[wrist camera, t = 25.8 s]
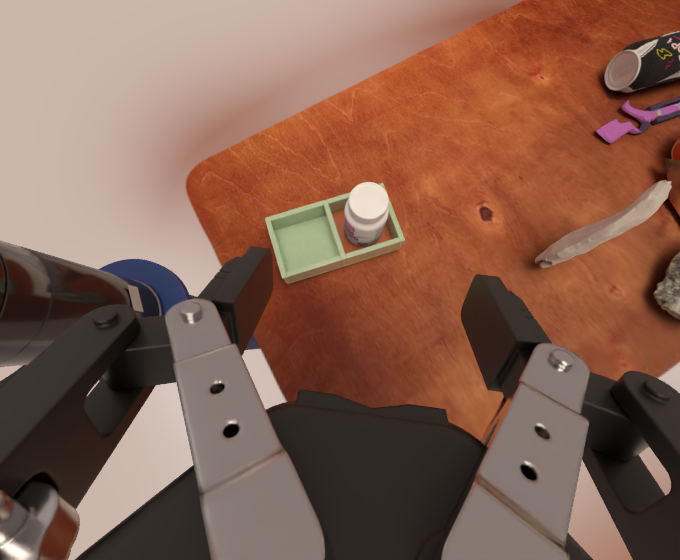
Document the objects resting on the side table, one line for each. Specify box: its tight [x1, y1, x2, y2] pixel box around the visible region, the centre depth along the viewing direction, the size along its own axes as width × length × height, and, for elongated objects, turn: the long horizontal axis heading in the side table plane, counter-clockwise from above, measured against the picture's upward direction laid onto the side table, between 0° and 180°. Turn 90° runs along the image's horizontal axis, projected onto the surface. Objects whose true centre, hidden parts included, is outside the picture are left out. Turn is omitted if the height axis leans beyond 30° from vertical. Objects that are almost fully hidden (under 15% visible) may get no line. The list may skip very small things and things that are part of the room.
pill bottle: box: [344, 182, 389, 248], centre depth 34 cm, size 5×5×8 cm
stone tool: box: [535, 180, 672, 268], centre depth 30 cm, size 9×3×15 cm, turn 127°
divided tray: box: [265, 183, 405, 284], centre depth 36 cm, size 15×8×4 cm, turn 108°
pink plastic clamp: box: [596, 97, 680, 143], centre depth 41 cm, size 21×1×5 cm
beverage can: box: [605, 31, 680, 93], centre depth 40 cm, size 6×6×12 cm
